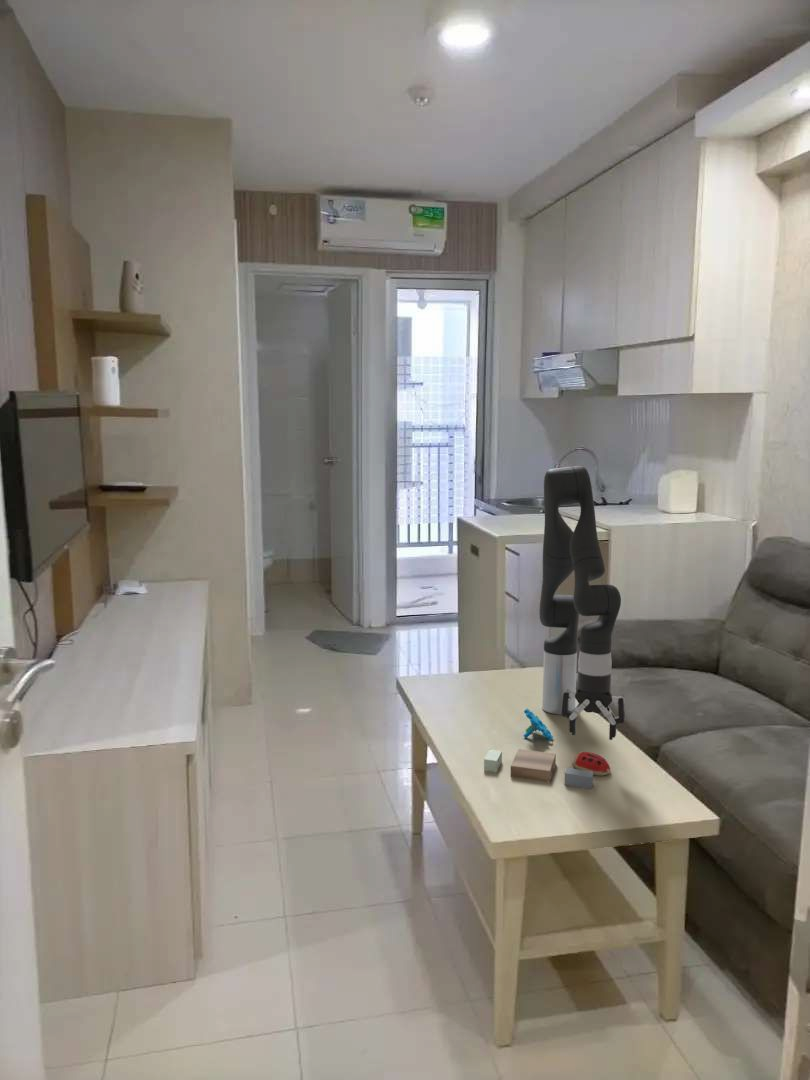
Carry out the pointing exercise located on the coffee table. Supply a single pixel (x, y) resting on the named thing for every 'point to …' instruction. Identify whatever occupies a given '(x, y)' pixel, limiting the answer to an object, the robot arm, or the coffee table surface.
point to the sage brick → (493, 760)
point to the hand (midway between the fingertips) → (592, 736)
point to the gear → (536, 725)
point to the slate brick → (578, 778)
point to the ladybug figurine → (591, 763)
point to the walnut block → (533, 765)
